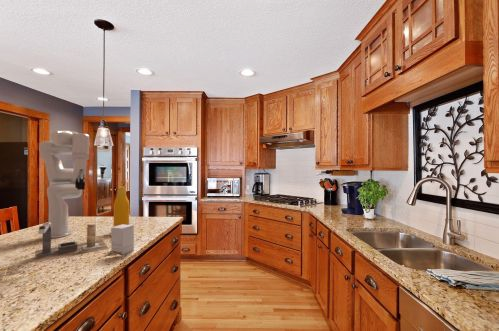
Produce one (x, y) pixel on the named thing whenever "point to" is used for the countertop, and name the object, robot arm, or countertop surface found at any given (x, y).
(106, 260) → the countertop surface
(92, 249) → the eye board
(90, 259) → the countertop surface
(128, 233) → the supplement box
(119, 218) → the beer bottle
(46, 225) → the locking bar
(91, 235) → the oak peg
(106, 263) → the countertop surface
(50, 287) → the countertop surface
